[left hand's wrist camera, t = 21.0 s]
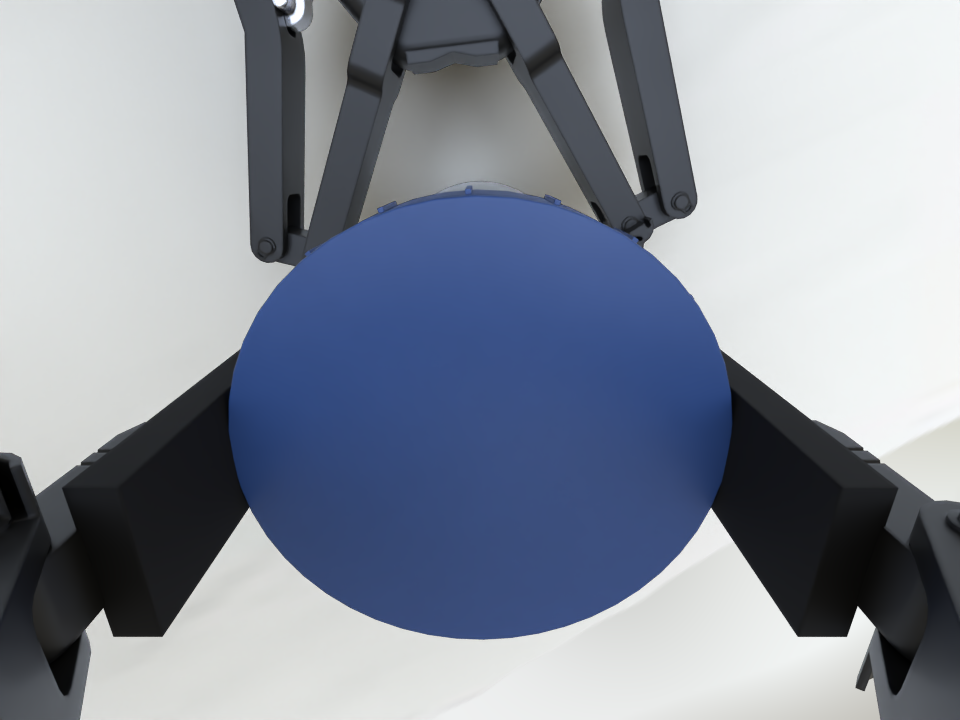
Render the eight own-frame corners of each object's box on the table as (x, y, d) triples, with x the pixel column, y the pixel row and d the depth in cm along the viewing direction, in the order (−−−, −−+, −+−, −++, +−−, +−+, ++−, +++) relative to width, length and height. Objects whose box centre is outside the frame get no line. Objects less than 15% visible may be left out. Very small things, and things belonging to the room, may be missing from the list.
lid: (274, 556, 14) (239, 621, 12) (259, 159, 10) (206, 157, 8) (638, 589, 14) (664, 657, 12) (747, 218, 10) (809, 231, 9)
